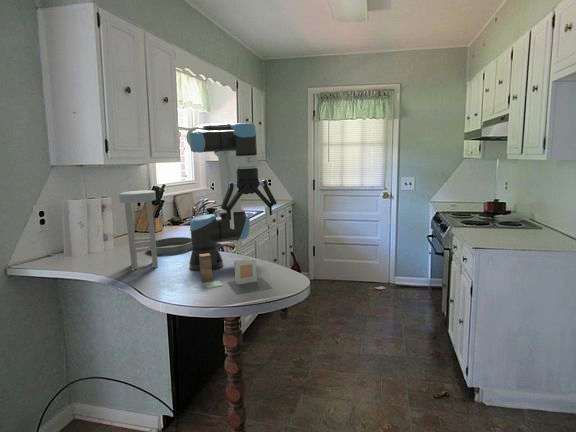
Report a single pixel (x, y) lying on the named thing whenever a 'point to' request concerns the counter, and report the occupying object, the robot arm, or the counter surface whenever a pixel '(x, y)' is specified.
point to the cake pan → (173, 245)
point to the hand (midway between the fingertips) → (250, 226)
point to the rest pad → (213, 284)
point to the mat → (250, 286)
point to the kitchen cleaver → (226, 244)
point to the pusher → (205, 267)
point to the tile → (245, 271)
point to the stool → (128, 199)
